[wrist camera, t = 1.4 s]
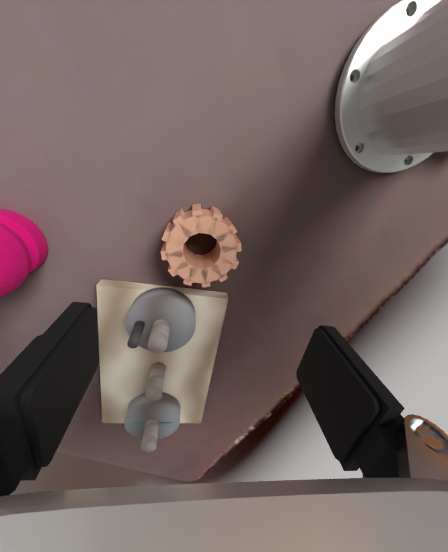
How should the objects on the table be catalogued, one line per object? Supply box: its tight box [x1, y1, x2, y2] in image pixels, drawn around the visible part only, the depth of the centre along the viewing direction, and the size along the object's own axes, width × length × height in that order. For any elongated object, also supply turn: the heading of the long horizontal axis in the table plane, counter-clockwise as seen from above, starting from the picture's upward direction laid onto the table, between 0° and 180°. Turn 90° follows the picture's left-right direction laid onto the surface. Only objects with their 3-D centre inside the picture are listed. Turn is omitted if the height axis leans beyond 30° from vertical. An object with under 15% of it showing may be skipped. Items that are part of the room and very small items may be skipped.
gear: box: [161, 204, 242, 287], centre depth 23 cm, size 7×7×4 cm
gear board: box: [96, 279, 228, 452], centre depth 28 cm, size 14×23×6 cm, turn 169°
